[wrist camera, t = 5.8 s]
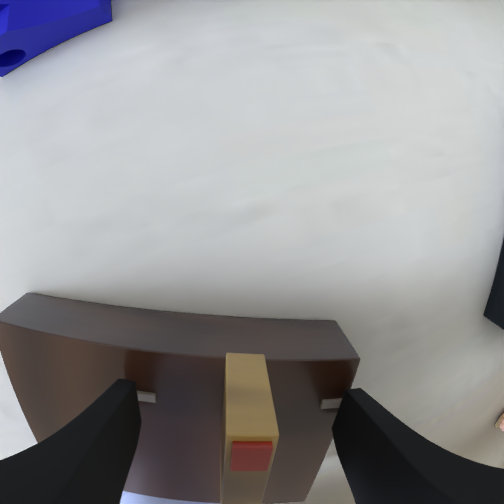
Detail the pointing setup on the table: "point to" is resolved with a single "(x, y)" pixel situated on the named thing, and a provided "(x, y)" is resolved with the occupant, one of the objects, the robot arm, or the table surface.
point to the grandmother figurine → (500, 422)
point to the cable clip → (44, 26)
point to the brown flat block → (178, 385)
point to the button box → (497, 295)
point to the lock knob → (246, 430)
